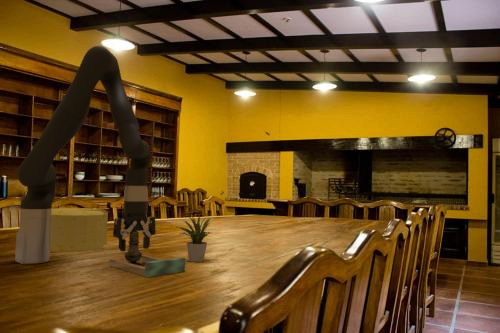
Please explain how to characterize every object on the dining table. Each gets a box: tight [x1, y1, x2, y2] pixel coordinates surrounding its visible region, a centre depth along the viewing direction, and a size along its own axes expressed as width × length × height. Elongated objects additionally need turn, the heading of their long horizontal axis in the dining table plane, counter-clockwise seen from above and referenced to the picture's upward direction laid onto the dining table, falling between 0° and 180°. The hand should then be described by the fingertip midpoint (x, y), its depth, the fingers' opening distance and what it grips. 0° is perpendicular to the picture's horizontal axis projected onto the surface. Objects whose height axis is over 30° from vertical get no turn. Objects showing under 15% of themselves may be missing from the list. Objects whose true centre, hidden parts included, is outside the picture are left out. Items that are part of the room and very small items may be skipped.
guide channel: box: [109, 254, 186, 278], centre depth 132 cm, size 13×22×4 cm, turn 47°
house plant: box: [176, 214, 212, 263], centre depth 149 cm, size 14×14×16 cm
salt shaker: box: [123, 231, 143, 266], centre depth 137 cm, size 6×6×12 cm
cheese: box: [50, 207, 109, 253], centre depth 171 cm, size 26×26×15 cm
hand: (134, 249), depth 137 cm, fingers open, 8 cm apart
